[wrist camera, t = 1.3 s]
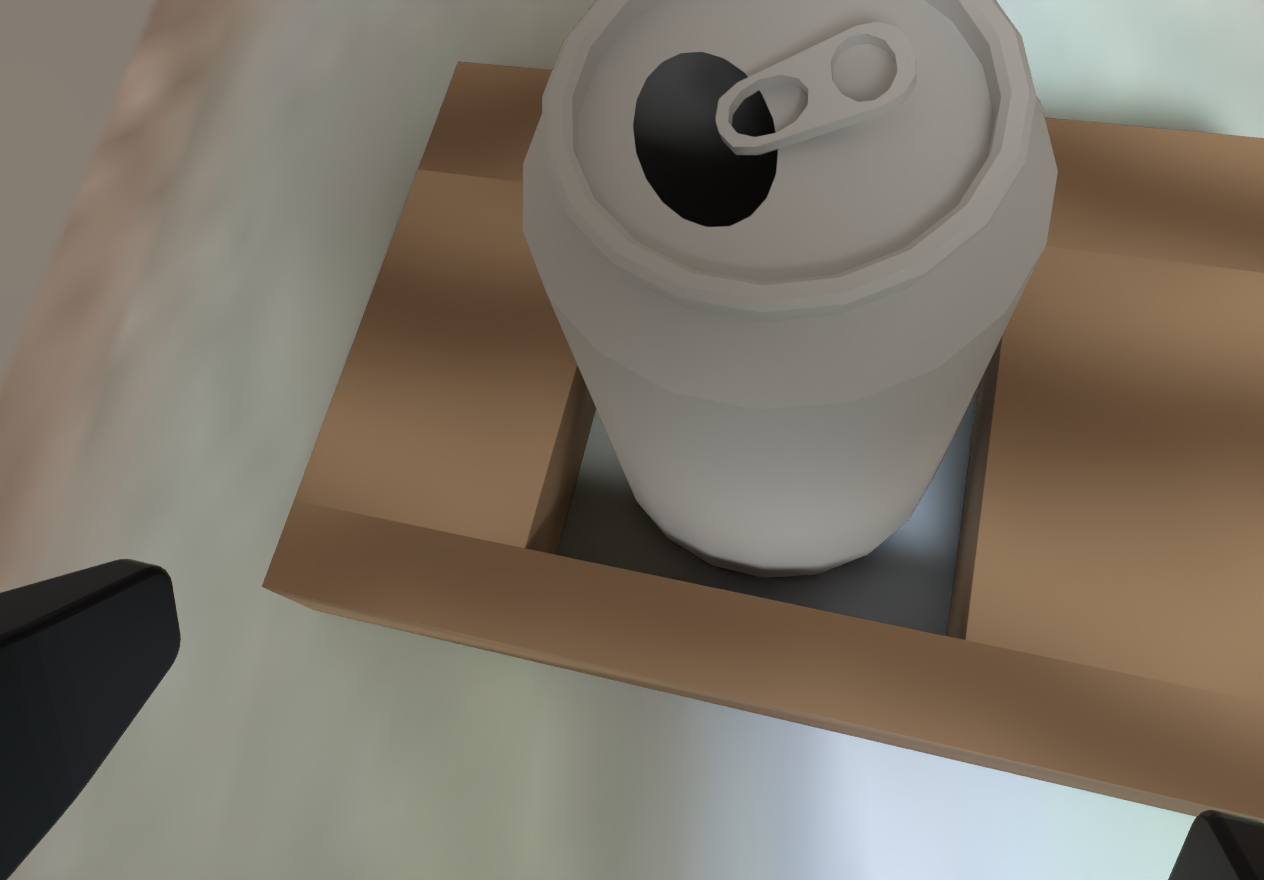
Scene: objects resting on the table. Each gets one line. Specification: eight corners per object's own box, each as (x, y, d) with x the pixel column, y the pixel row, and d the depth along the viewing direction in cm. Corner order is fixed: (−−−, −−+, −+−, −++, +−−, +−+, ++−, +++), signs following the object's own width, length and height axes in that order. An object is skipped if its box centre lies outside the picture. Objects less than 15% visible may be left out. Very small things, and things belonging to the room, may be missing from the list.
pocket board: (1218, 821, 19) (1281, 822, 16) (313, 609, 23) (261, 586, 21) (1237, 206, 23) (1288, 140, 21) (484, 124, 28) (458, 61, 25)
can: (597, 337, 25) (455, -54, 14) (882, 268, 24) (977, -192, 13) (655, 619, 22) (534, 417, 11) (980, 546, 21) (1205, 258, 10)
